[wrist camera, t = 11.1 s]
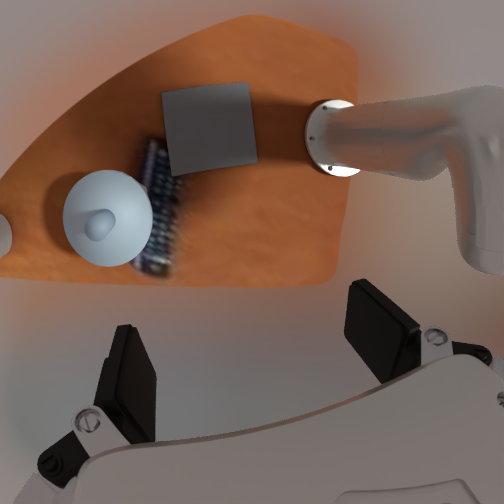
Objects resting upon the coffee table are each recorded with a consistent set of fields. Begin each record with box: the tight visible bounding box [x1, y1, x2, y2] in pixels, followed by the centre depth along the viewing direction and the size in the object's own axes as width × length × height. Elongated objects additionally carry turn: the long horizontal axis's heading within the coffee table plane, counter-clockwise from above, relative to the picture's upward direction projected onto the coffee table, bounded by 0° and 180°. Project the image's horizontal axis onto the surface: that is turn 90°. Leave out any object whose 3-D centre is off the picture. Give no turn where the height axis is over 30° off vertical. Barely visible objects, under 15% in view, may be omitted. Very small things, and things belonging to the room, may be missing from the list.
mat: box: [161, 82, 258, 177], centre depth 34 cm, size 12×12×1 cm
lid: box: [63, 170, 153, 266], centre depth 28 cm, size 12×12×5 cm
